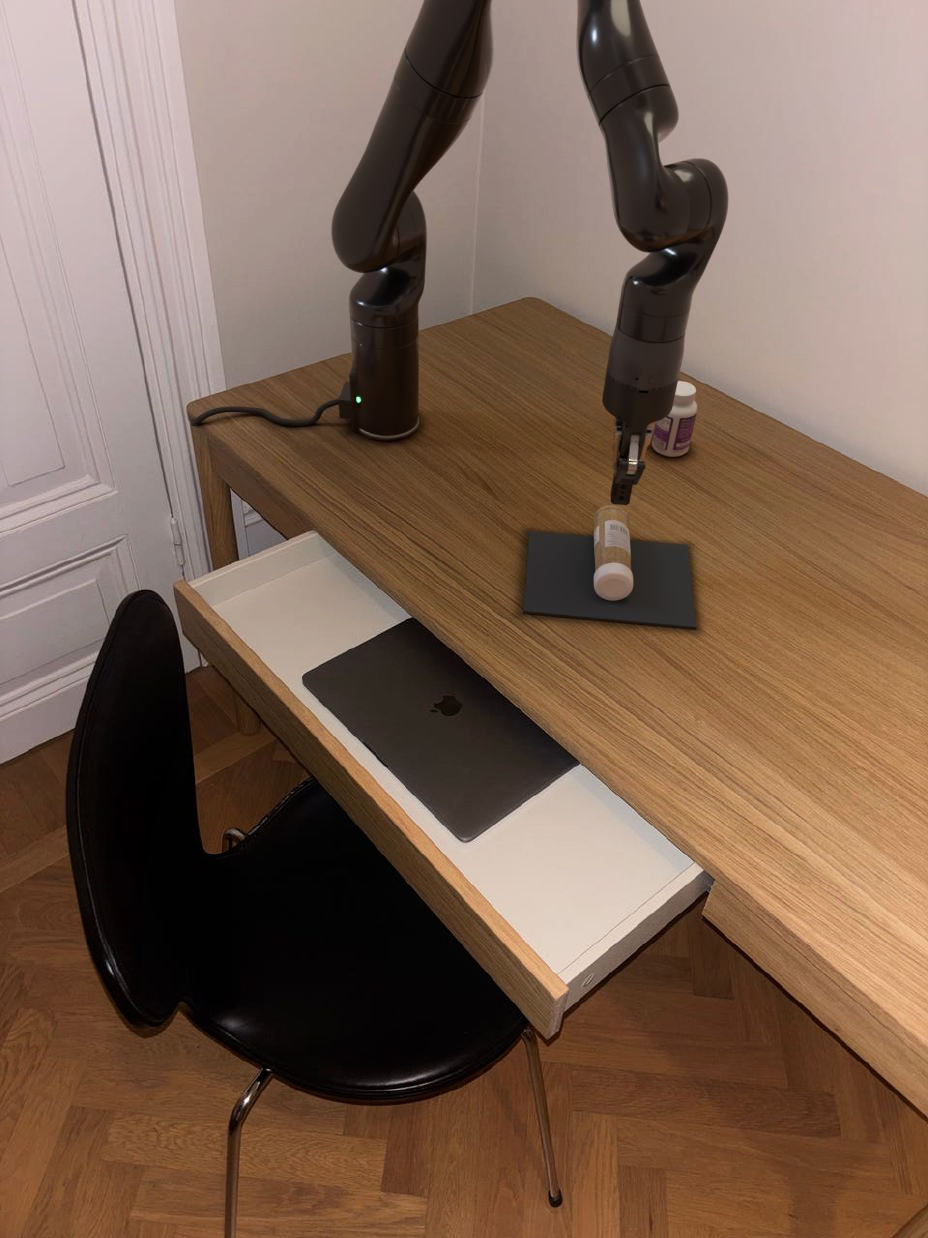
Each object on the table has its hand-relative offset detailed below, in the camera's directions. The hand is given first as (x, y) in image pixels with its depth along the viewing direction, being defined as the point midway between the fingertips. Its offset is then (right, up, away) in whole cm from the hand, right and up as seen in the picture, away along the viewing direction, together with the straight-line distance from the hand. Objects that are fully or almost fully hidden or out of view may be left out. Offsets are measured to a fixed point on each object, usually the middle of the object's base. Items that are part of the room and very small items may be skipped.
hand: (619, 500), depth 111 cm
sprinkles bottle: (0, -1, +9) cm, 9 cm away
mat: (-1, -9, +4) cm, 10 cm away
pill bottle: (+11, +11, +26) cm, 30 cm away
